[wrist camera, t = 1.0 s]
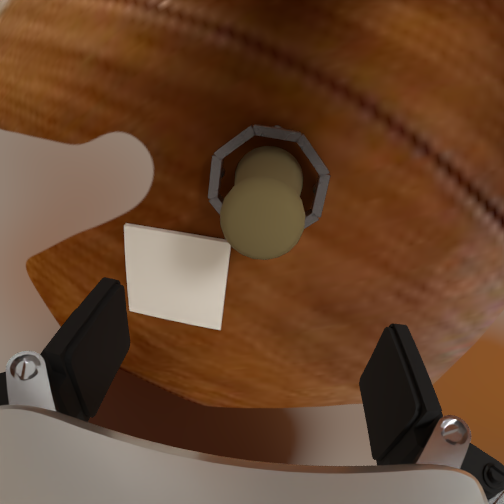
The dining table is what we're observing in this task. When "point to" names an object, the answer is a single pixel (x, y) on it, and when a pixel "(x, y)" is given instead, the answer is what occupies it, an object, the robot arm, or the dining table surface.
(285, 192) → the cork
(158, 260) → the plate
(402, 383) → the robot arm
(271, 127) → the ring stand
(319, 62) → the dining table surface
